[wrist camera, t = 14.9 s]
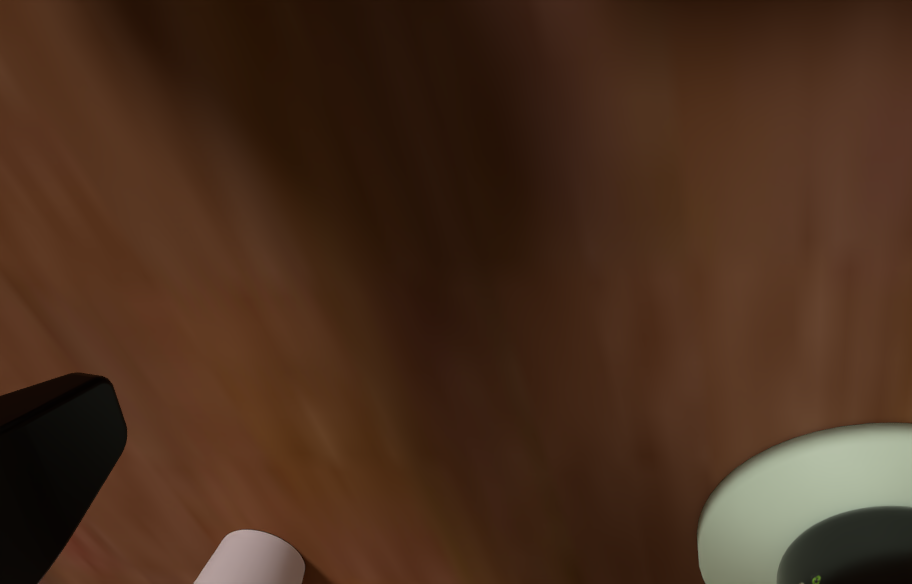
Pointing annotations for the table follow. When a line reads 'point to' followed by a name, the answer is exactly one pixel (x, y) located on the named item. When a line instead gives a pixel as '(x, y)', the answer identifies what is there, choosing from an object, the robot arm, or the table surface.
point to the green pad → (799, 496)
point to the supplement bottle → (852, 549)
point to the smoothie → (253, 561)
